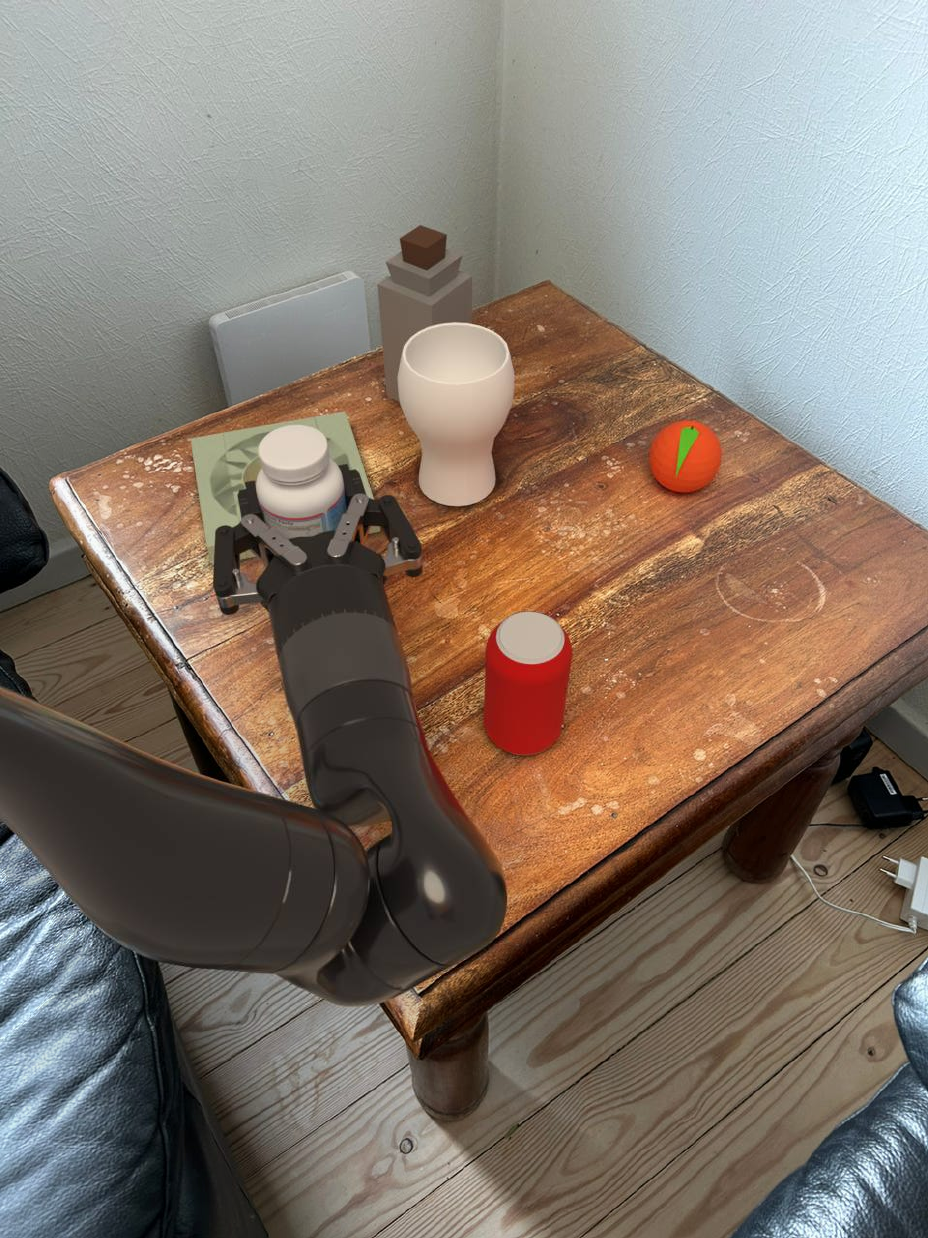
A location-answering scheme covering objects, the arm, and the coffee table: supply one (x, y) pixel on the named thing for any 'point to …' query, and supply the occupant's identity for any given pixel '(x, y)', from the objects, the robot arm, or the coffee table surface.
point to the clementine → (685, 456)
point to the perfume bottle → (420, 295)
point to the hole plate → (256, 467)
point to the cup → (456, 407)
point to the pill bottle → (299, 482)
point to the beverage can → (526, 682)
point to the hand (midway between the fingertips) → (297, 482)
